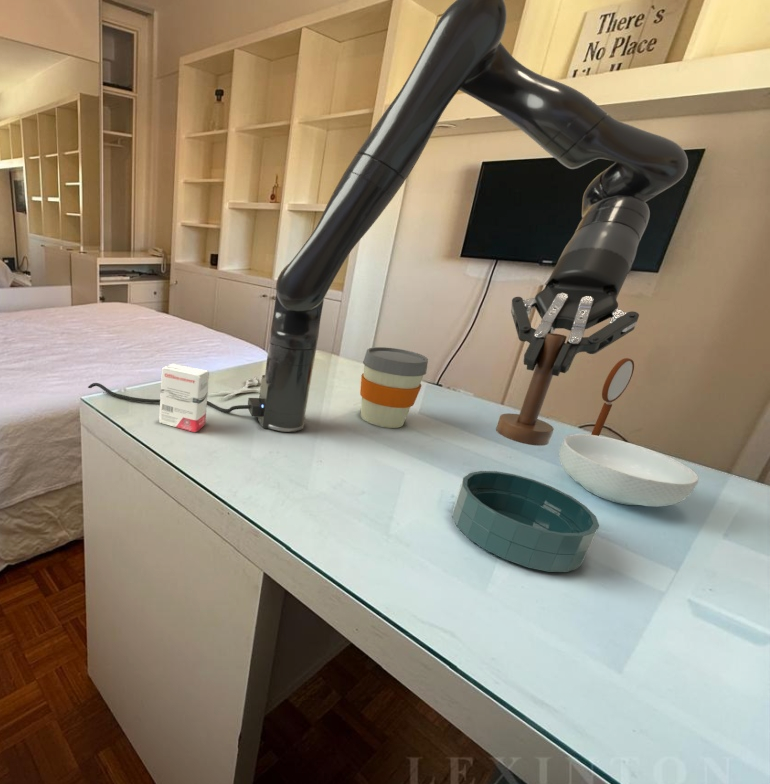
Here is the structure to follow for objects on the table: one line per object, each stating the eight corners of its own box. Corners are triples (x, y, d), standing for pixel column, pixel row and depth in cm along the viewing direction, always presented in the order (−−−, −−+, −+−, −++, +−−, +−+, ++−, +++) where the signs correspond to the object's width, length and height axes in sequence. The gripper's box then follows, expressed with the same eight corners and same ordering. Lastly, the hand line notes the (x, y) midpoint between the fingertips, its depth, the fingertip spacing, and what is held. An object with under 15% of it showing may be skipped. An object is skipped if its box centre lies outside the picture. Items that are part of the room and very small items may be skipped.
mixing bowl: (499, 574, 56) (514, 534, 54) (430, 503, 70) (440, 469, 68) (612, 575, 57) (632, 536, 55) (522, 505, 71) (535, 472, 69)
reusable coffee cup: (423, 424, 100) (441, 359, 95) (390, 436, 93) (408, 366, 88) (373, 405, 109) (387, 344, 104) (340, 414, 103) (353, 350, 97)
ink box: (206, 424, 93) (210, 369, 89) (195, 433, 88) (200, 376, 84) (169, 415, 96) (172, 361, 92) (157, 423, 92) (160, 367, 88)
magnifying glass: (592, 448, 93) (632, 355, 86) (602, 452, 92) (643, 358, 85) (570, 455, 90) (610, 358, 83) (581, 460, 88) (622, 361, 81)
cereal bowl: (653, 534, 66) (675, 492, 64) (530, 478, 80) (544, 442, 78) (697, 507, 74) (717, 470, 72) (577, 460, 88) (591, 427, 85)
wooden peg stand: (517, 445, 59) (554, 340, 54) (485, 425, 64) (516, 328, 59) (560, 446, 59) (600, 342, 54) (525, 426, 65) (559, 330, 60)
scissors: (286, 388, 114) (227, 402, 102) (285, 391, 114) (227, 406, 102) (255, 376, 122) (198, 388, 110) (255, 379, 122) (197, 391, 110)
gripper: (532, 241, 63) (480, 339, 59) (672, 250, 53) (622, 366, 50) (528, 279, 68) (481, 371, 64) (655, 293, 59) (608, 401, 55)
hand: (543, 369), depth 57 cm, fingers closed on wooden peg stand
